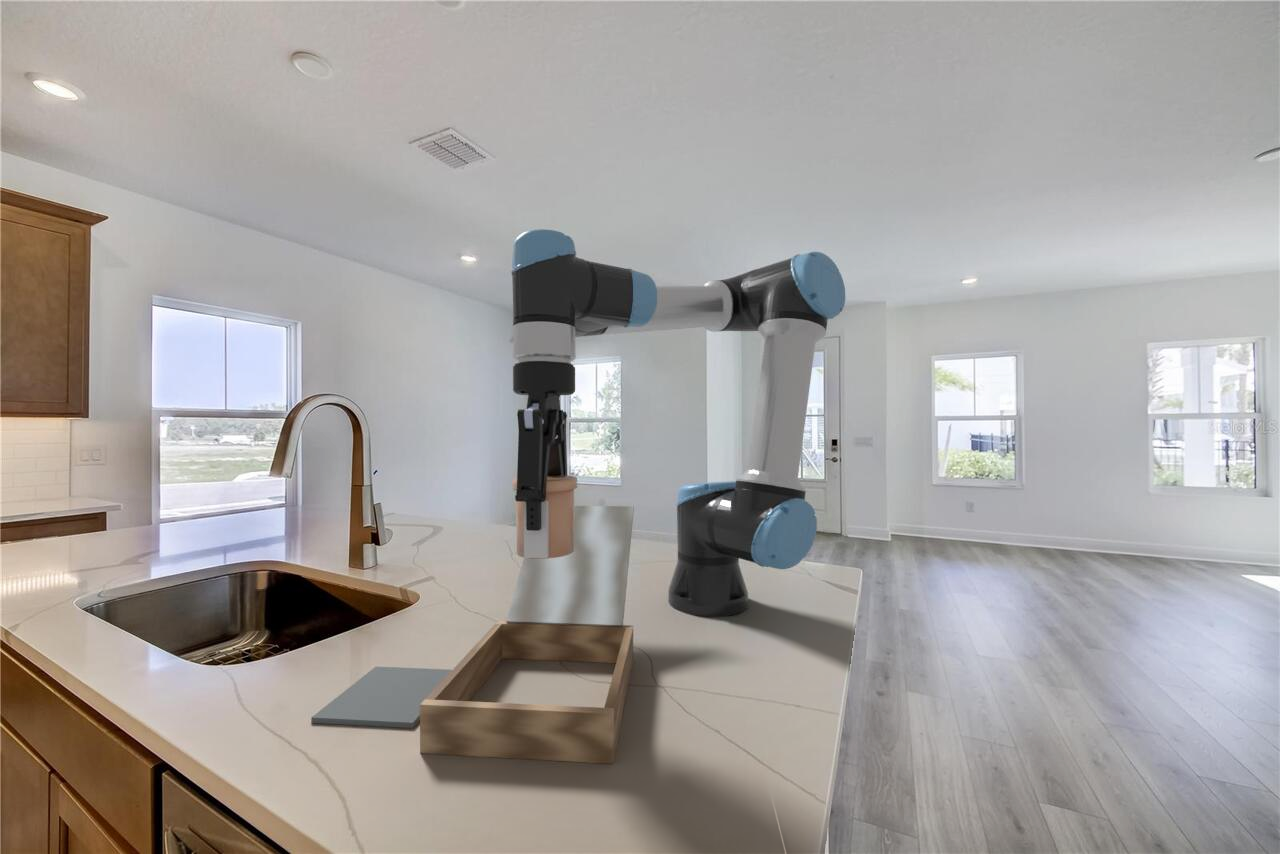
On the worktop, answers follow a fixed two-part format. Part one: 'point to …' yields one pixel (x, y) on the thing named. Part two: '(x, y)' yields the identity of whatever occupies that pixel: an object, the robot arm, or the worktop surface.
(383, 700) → the mat
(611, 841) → the worktop surface
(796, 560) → the robot arm
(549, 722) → the cold frame
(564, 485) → the pot
